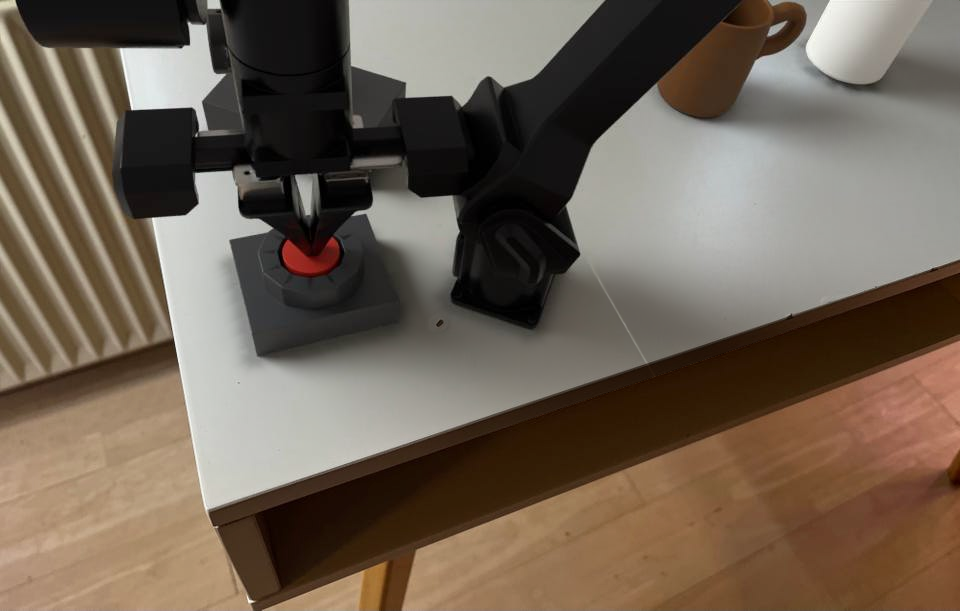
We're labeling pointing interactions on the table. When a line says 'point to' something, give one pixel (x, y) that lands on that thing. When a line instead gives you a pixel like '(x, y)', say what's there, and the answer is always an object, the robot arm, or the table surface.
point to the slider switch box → (367, 101)
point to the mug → (729, 57)
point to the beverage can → (862, 37)
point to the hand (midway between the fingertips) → (312, 250)
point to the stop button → (311, 260)
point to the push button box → (314, 290)
